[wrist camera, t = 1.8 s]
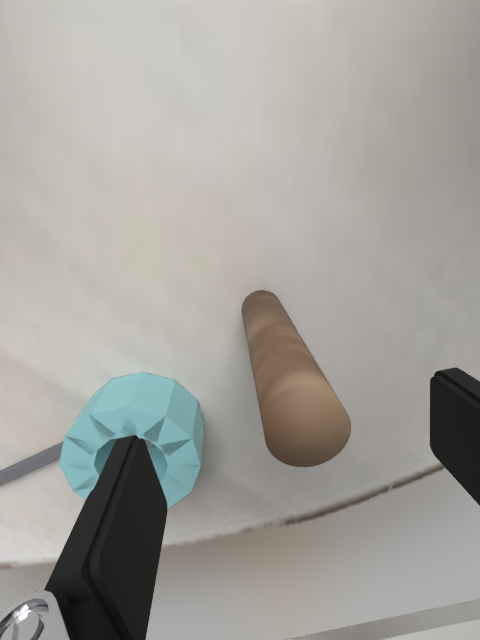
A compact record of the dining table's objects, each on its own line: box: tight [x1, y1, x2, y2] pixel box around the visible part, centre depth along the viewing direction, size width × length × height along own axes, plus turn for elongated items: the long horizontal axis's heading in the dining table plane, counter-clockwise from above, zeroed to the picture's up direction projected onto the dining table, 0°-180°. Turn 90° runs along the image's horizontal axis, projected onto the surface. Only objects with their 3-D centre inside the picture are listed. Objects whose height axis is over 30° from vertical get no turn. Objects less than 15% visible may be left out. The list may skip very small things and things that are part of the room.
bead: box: [59, 372, 204, 509], centre depth 21 cm, size 8×8×4 cm
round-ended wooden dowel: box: [242, 290, 351, 467], centre depth 15 cm, size 3×3×12 cm
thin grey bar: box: [0, 442, 63, 485], centre depth 23 cm, size 9×1×1 cm, turn 116°
